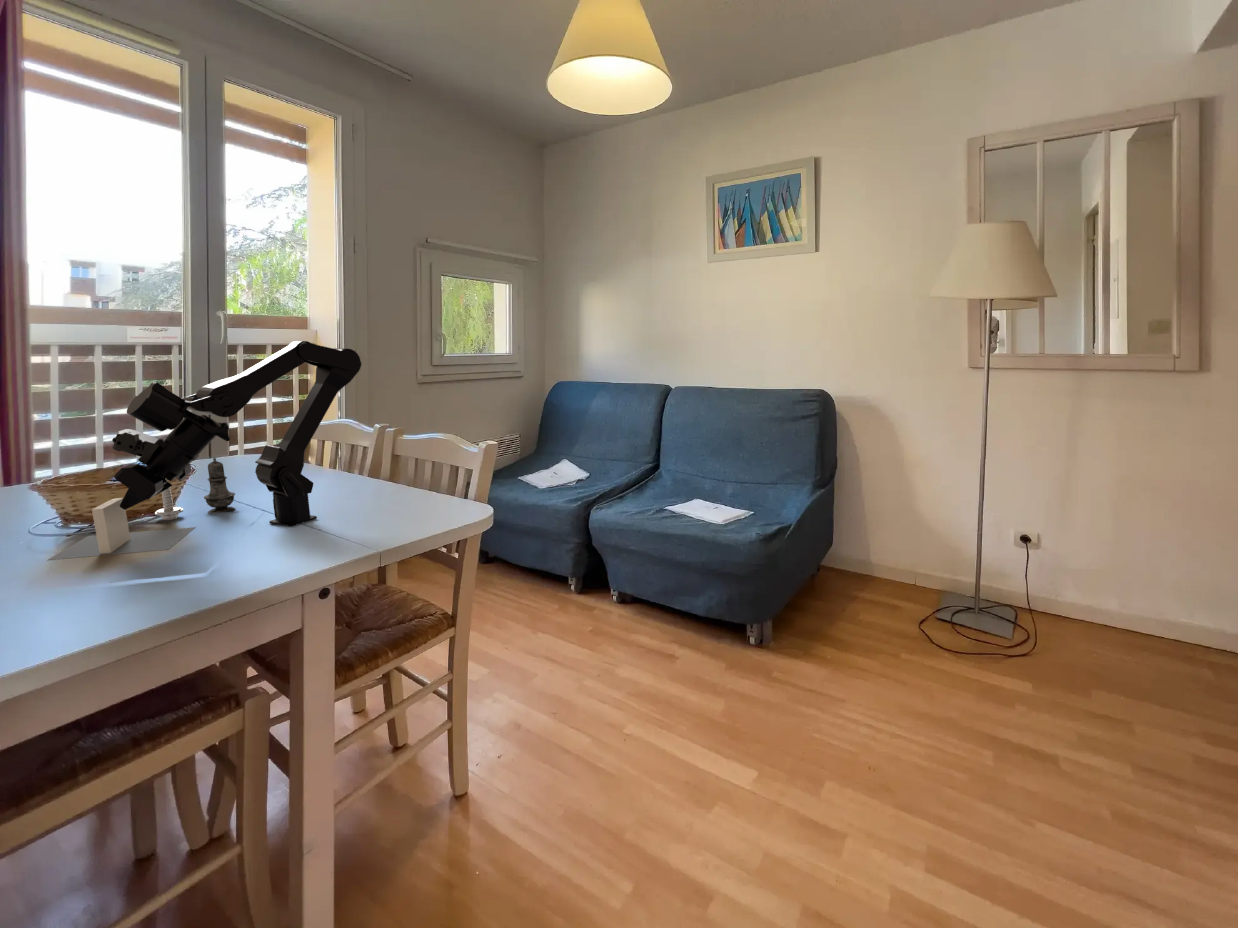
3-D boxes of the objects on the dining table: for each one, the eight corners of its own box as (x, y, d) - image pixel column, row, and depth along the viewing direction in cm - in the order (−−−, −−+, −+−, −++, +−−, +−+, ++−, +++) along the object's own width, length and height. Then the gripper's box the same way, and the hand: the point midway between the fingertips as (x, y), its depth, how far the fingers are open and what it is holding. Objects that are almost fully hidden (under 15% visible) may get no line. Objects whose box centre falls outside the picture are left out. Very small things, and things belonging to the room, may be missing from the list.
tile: (130, 539, 120) (123, 497, 118) (110, 552, 112) (102, 508, 110) (120, 540, 119) (113, 498, 118) (99, 553, 112) (91, 509, 110)
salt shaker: (226, 514, 137) (219, 460, 135) (199, 515, 138) (191, 460, 135) (242, 507, 143) (236, 454, 141) (217, 507, 143) (209, 455, 141)
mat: (196, 529, 127) (195, 527, 127) (169, 551, 114) (169, 549, 114) (88, 538, 122) (87, 535, 122) (47, 562, 109) (46, 560, 109)
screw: (153, 525, 130) (159, 519, 135) (181, 522, 132) (186, 516, 137) (143, 462, 128) (150, 458, 132) (172, 460, 130) (177, 456, 134)
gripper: (163, 408, 122) (104, 468, 121) (119, 419, 104) (49, 490, 103) (215, 446, 125) (158, 505, 124) (182, 464, 108) (115, 533, 107)
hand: (122, 507), depth 115 cm, fingers closed
